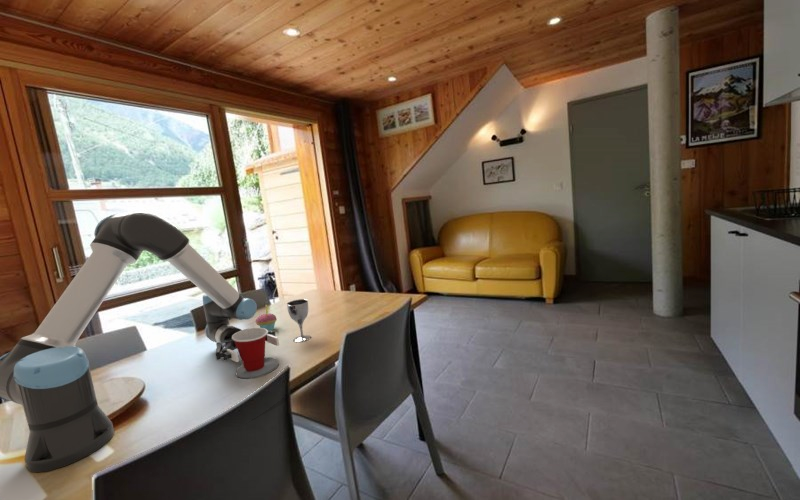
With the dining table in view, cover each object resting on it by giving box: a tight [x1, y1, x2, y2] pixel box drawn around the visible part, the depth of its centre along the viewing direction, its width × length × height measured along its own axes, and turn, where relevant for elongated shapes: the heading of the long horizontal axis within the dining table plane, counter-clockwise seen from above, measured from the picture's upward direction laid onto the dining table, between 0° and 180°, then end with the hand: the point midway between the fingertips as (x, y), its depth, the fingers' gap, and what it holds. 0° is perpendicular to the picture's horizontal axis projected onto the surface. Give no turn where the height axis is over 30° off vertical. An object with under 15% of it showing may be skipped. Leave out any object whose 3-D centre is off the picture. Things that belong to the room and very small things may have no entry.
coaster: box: [235, 357, 279, 380], centre depth 114 cm, size 13×13×1 cm
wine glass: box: [286, 298, 312, 343], centre depth 136 cm, size 8×8×15 cm
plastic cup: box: [232, 327, 268, 372], centre depth 113 cm, size 11×11×12 cm
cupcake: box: [255, 303, 277, 331], centre depth 151 cm, size 9×8×12 cm
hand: (258, 349), depth 112 cm, fingers open, 13 cm apart
